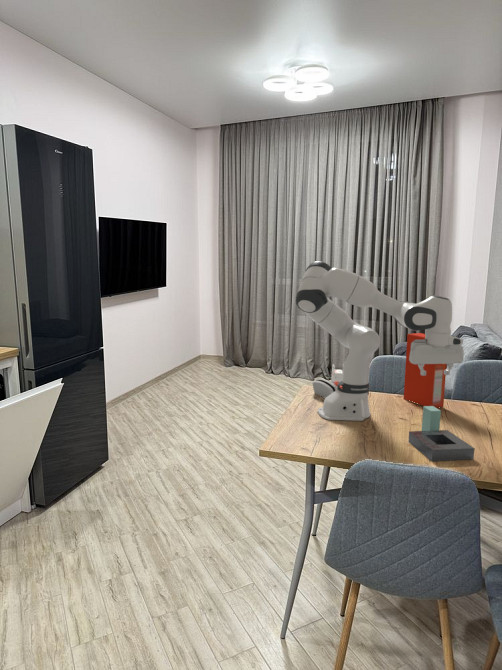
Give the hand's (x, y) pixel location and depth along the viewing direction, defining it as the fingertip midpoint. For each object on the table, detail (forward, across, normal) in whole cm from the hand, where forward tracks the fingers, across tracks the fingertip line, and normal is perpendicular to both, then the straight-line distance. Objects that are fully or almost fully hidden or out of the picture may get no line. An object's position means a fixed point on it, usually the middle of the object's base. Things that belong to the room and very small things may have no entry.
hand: (434, 375), depth 178 cm
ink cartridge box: (+23, -20, +55) cm, 63 cm away
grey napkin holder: (+24, -27, +50) cm, 61 cm away
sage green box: (+23, 0, 0) cm, 23 cm away
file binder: (+24, +16, +37) cm, 47 cm away
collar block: (+23, -5, -16) cm, 29 cm away
